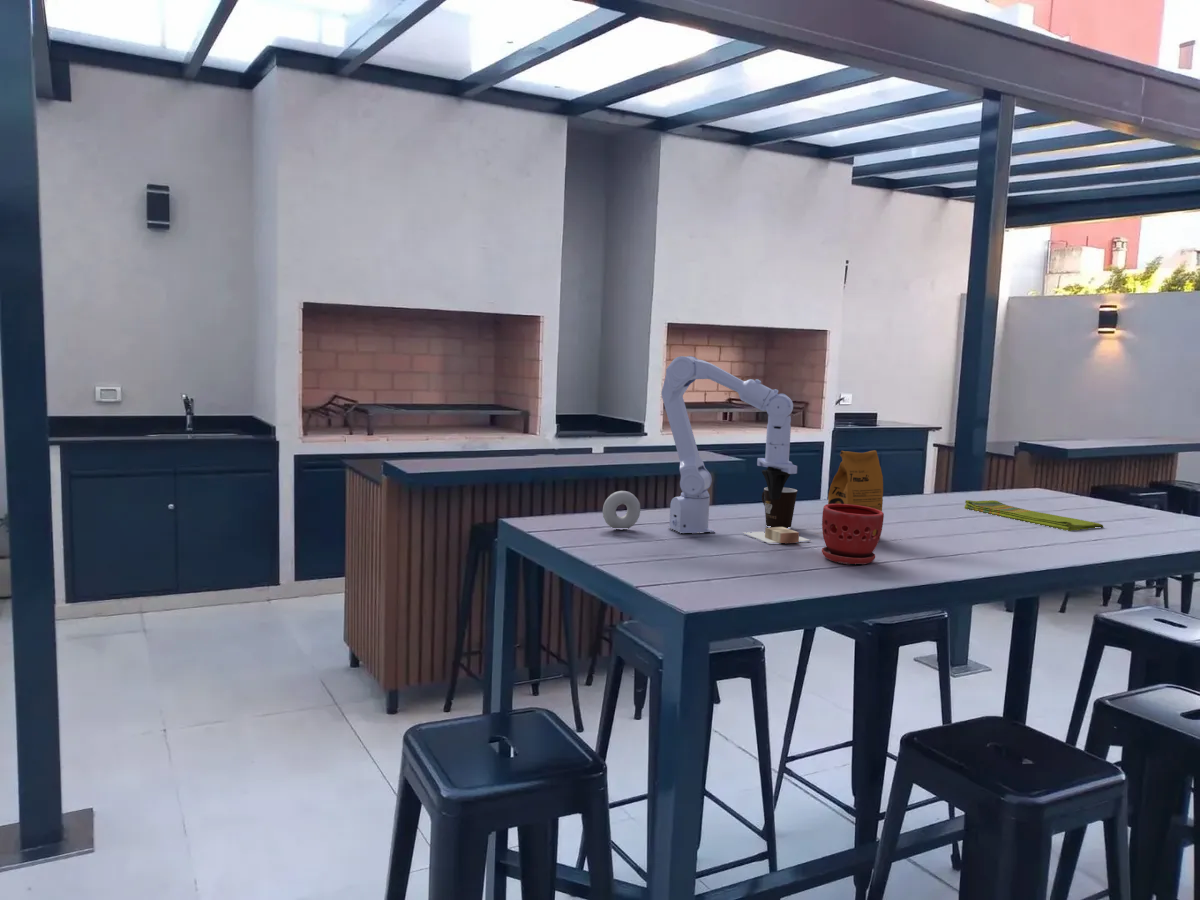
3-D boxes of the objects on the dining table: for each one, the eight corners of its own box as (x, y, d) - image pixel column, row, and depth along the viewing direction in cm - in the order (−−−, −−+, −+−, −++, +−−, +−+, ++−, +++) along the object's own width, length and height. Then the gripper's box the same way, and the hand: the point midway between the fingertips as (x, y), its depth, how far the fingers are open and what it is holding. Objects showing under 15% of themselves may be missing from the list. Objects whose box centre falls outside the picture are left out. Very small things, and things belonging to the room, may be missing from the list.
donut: (636, 528, 234) (638, 489, 233) (641, 530, 231) (643, 491, 230) (599, 529, 231) (601, 490, 230) (604, 532, 228) (606, 492, 226)
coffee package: (820, 534, 234) (825, 448, 232) (861, 532, 238) (866, 448, 236) (842, 542, 225) (848, 453, 222) (885, 540, 229) (891, 452, 227)
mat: (768, 544, 220) (768, 542, 220) (742, 534, 231) (742, 532, 231) (810, 541, 224) (810, 540, 224) (782, 531, 235) (782, 530, 235)
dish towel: (997, 507, 288) (998, 497, 288) (1104, 529, 257) (1105, 518, 256) (962, 510, 281) (963, 499, 281) (1068, 533, 250) (1069, 521, 249)
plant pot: (839, 569, 198) (843, 514, 196) (809, 554, 210) (812, 503, 209) (892, 566, 201) (896, 512, 200) (859, 553, 214) (862, 502, 213)
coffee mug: (798, 531, 237) (800, 492, 236) (764, 530, 237) (766, 491, 236) (789, 522, 249) (791, 485, 248) (757, 521, 249) (759, 484, 248)
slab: (764, 537, 226) (780, 543, 220) (765, 527, 226) (781, 533, 219) (782, 536, 228) (798, 542, 222) (782, 526, 228) (799, 532, 221)
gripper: (809, 447, 219) (805, 503, 221) (775, 440, 233) (772, 493, 234) (784, 447, 217) (780, 504, 218) (751, 440, 230) (748, 494, 232)
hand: (774, 498), depth 226 cm, fingers closed
